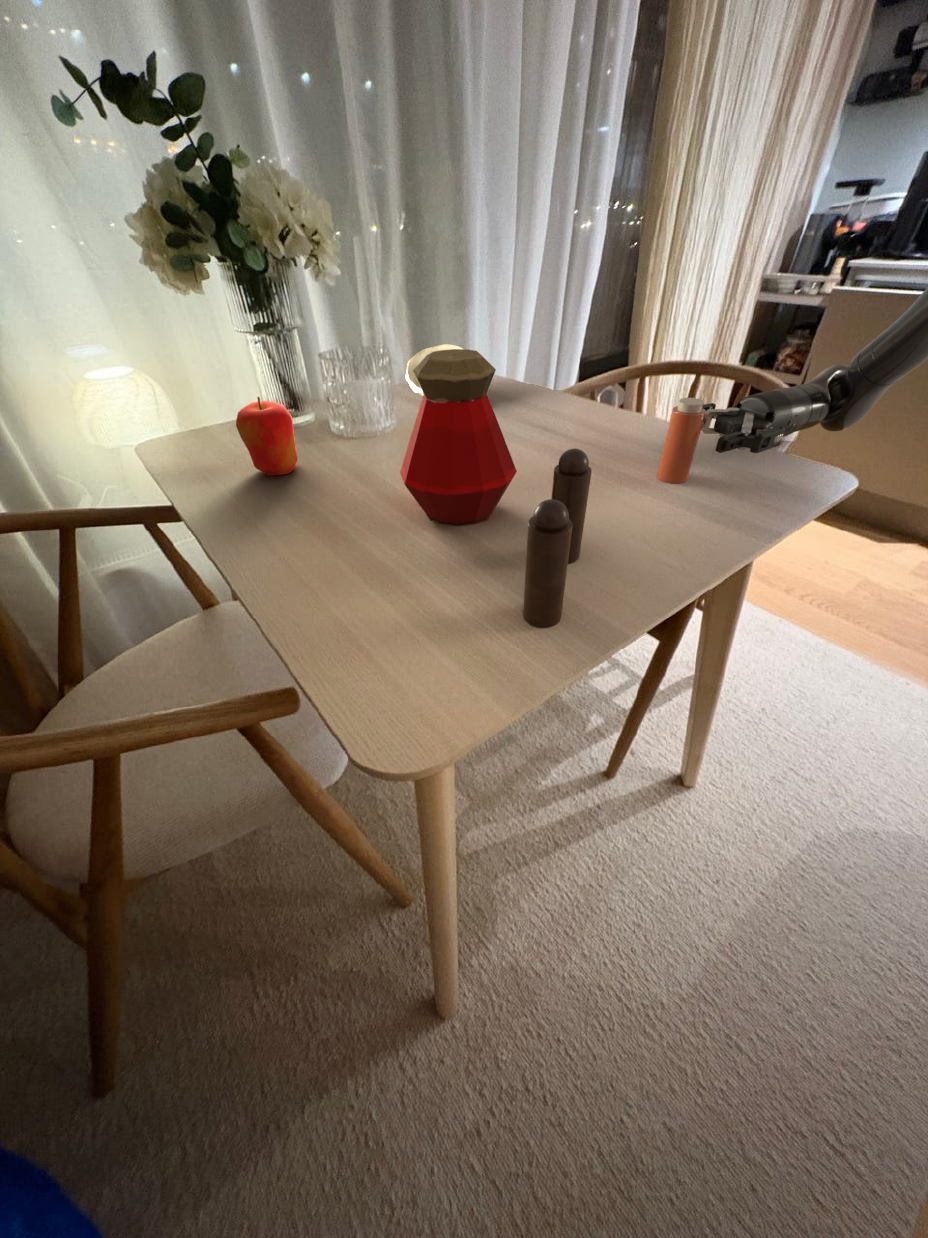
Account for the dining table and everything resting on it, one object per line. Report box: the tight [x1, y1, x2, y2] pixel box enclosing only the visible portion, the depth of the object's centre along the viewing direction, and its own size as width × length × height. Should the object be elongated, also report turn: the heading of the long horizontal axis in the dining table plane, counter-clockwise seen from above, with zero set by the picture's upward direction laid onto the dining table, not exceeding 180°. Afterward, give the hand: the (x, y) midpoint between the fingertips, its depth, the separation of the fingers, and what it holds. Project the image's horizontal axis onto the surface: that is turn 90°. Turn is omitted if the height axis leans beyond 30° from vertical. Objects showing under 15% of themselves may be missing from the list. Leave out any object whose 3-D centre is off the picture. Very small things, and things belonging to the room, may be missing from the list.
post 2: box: [551, 447, 593, 565], centre depth 56 cm, size 4×4×13 cm
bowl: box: [405, 343, 463, 397], centre depth 104 cm, size 15×14×10 cm
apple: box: [235, 396, 298, 476], centre depth 79 cm, size 9×8×12 cm
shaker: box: [656, 397, 706, 484], centre depth 72 cm, size 4×4×11 cm
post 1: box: [522, 498, 573, 629], centre depth 48 cm, size 4×4×13 cm
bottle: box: [399, 348, 517, 527], centre depth 63 cm, size 16×14×20 cm
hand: (695, 435), depth 73 cm, fingers open, 8 cm apart
